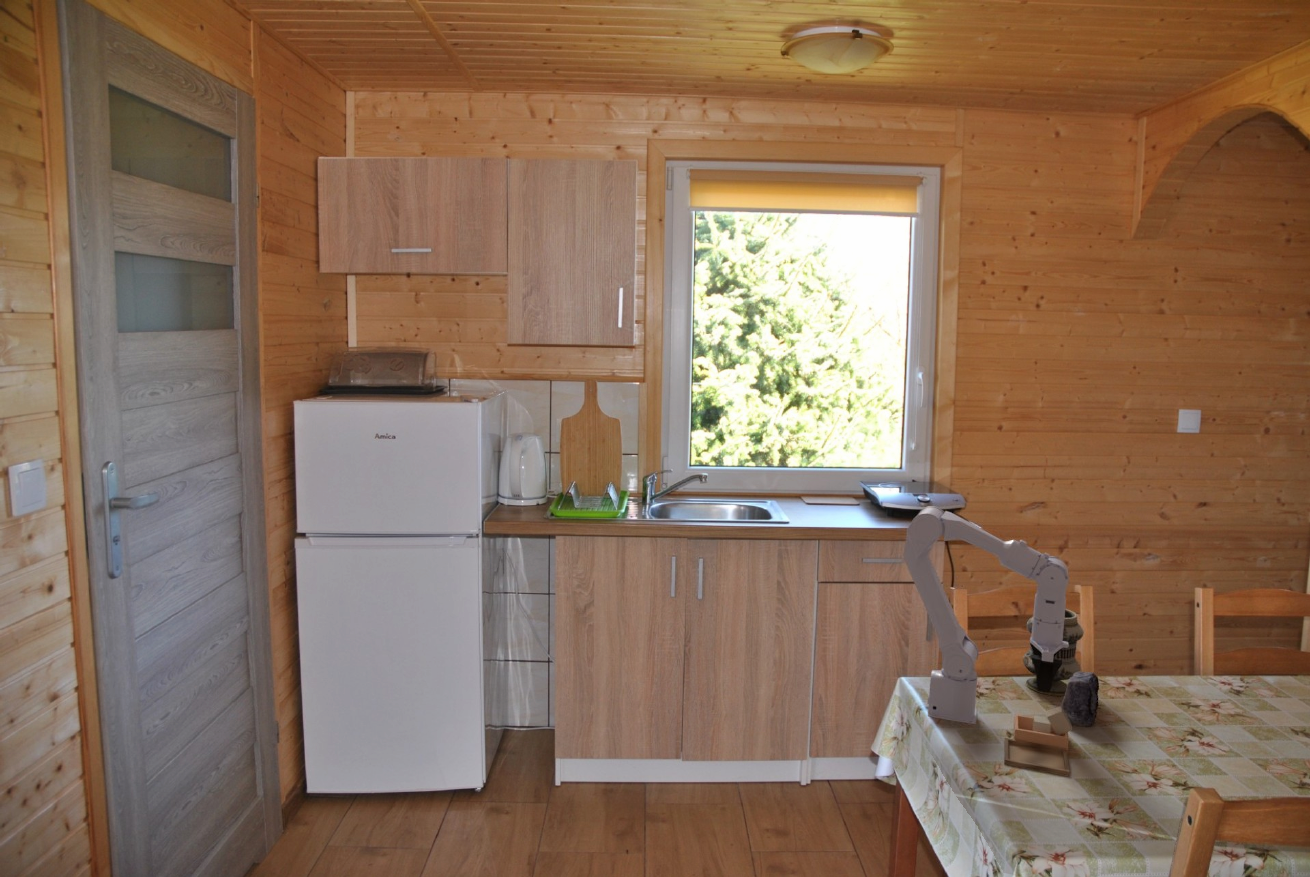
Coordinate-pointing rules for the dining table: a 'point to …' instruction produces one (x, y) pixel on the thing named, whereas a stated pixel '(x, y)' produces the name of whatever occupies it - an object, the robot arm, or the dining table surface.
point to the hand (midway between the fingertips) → (1042, 684)
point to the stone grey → (1041, 724)
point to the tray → (1036, 756)
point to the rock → (1081, 698)
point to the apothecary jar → (1059, 655)
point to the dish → (1037, 733)
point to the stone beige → (1059, 720)
